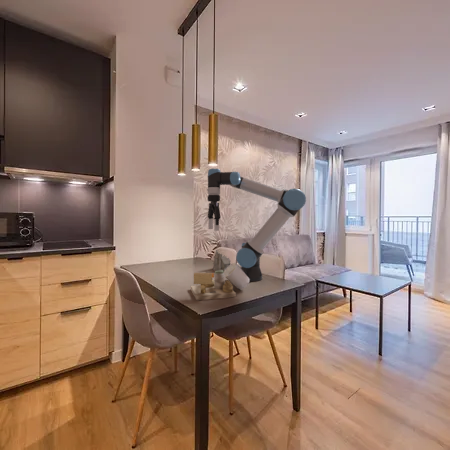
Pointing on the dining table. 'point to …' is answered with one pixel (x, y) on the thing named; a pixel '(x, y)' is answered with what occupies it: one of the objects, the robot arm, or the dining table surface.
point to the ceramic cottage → (220, 262)
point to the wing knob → (203, 280)
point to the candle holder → (236, 276)
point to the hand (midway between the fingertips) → (213, 229)
